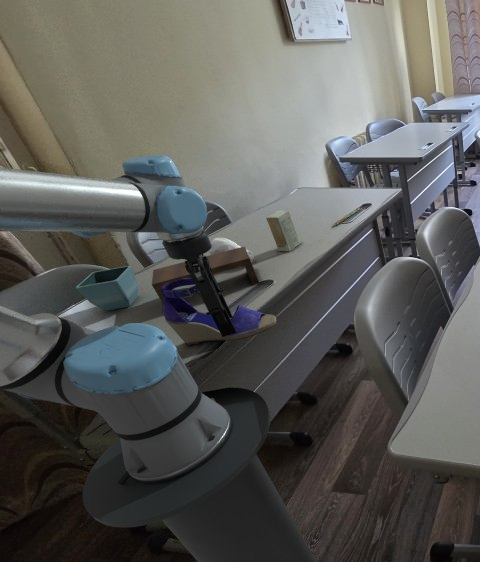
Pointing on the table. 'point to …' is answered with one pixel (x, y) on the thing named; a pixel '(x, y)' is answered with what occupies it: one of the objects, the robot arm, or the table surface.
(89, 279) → the flower pot
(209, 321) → the sandal
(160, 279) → the shoe shelf
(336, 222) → the pencil
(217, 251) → the white rounded piece
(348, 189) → the table surface
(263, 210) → the table surface
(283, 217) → the cosmetic box
